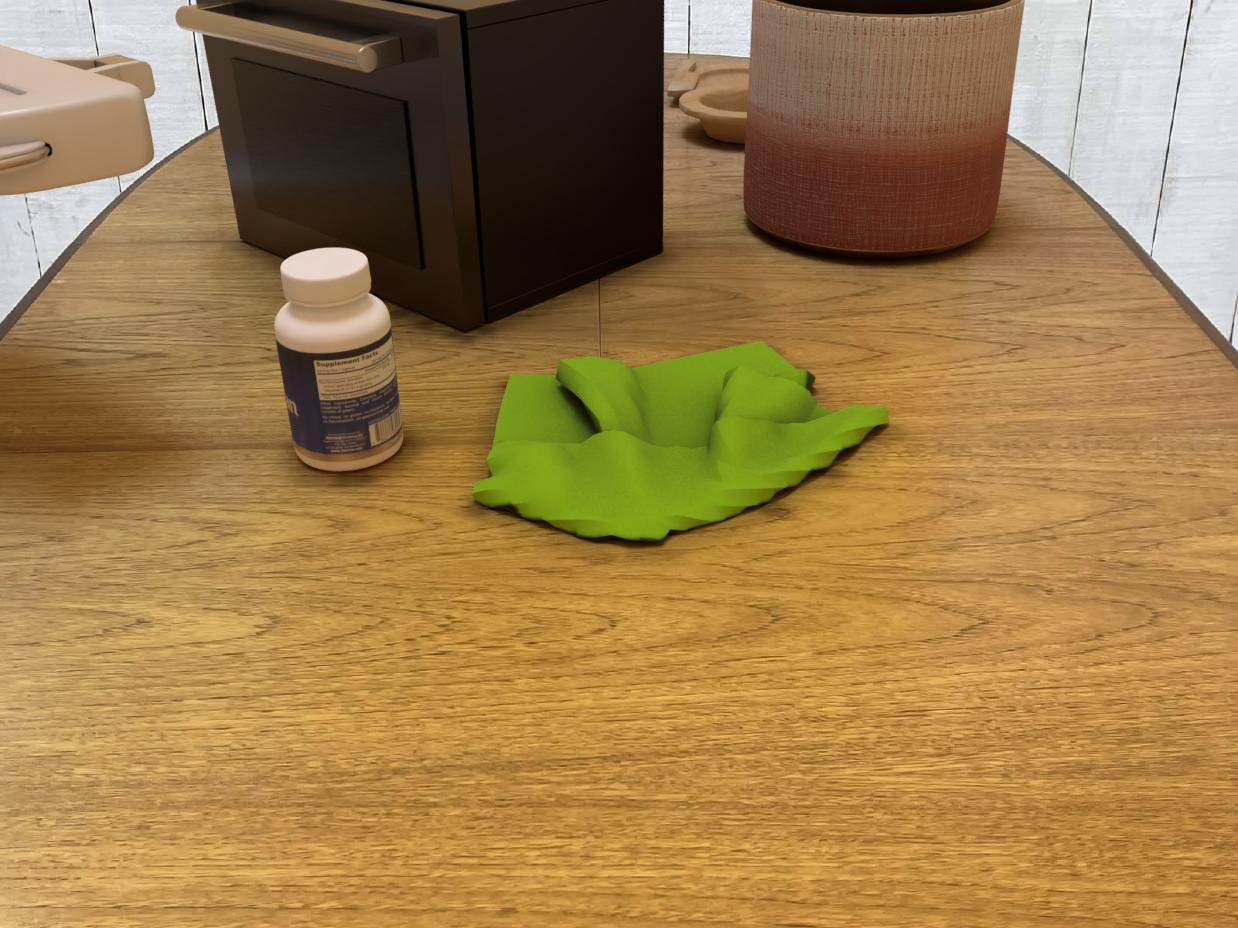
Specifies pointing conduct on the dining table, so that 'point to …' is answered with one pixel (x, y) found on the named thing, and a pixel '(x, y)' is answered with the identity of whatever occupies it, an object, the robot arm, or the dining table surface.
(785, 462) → the cloth
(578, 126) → the oven
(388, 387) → the pill bottle
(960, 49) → the planter
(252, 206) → the oven door
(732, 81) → the tableware set
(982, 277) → the dining table surface
